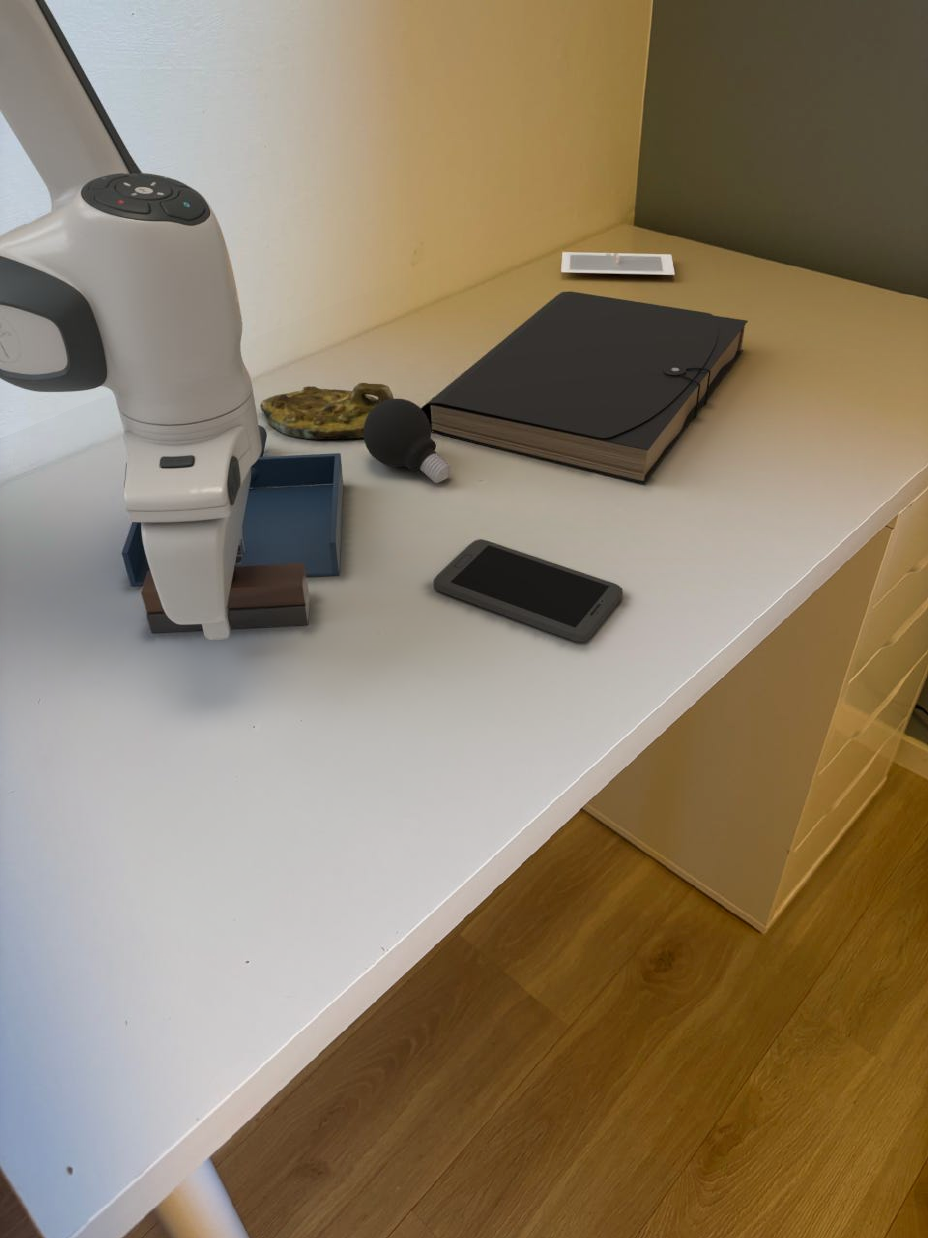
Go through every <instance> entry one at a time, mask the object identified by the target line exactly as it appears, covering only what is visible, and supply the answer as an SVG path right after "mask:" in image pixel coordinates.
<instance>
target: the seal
mask: <svg viewBox="0 0 928 1238" xmlns="http://www.w3.org/2000/svg"><path fill="white" fill-rule="evenodd" d="M376 397H377V398H376ZM389 399H394V394H393V392H392V390H391V388H390V387H389V386H388V385H386V384H383V383H368V382H358V383H357V384H356V385H354V386H353V389H352V390H348V389H347V390H346V389H335V388H334V389H330V388H319V387H317V386H310V385H307V386H303V388H302V390H296V391H293V392H288V393H281V394H275V395H272V396H269V397H268V398H265V399H263V400H262V401H261V402H260V405H259V406H260V410H261V412H262V413H263V414H264V415H265V417H266V418H267V421H268V424H269V425H270V426H271V427H272V428H273V429H276V430H277V431H278V432H280V433H283V434H285V435H286V436H287V435H288V436H290V437H294V438H299V439H308V440H322V439H323V440H326V439H329V440H330V439H331V440H332V439H333V440H334V439H337V440H345V439H360V438H364V435H363V430H364V424H365V420H366V418H367V416H368V414H369V413H370V412H371V410H372V409H373V408H374V407H375V406H376V405H378V404H379V403H381V402H383V401H386V400H389Z"/></svg>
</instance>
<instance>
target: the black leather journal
mask: <svg viewBox="0 0 928 1238" xmlns="http://www.w3.org/2000/svg"><path fill="white" fill-rule="evenodd" d="M748 322H749V321H748V320H746V319H740V318H733V317H726V316H720V315H715V314H714V315H713V314H712V313H710V312H704V311H700V310H699V311H698V310H693V309H686V308H679V307H673V306H667V305H660V304H654V303H648V302H641V301H635V300H629V299H624V298H623V299H621V298H616V297H610V296H603V295H597V294H591V293H584V292H578V291H570V290H569V291H561V292H559V293H558V294H557V295H555V296H554V297H553V298H552V299H550V300H549V301H548V302H547V303H545V304H544V305H543V306H542V307H541V308H540V309H538V310H537V311H536V312H534V314H532V315H531V316H530V317H529V318H528V319H527V320H525V321H524V322H523V323H522V324H520V325H519V326H518V327H516V329H514V330H513V331H512V332H511V333H510V334H508V335H506V337H505V338H504V339H502V340H501V341H500V342H498V344H496V345H495V346H494V347H493V348H491V349H490V350H489V351H488V352H486V354H484V355H483V356H482V357H480V358H479V359H478V360H477V361H475V363H473V364H472V365H471V366H470V367H469V368H467V369H466V370H465V371H464V372H463V373H461V374H460V375H459V376H457V378H455V379H454V380H453V381H452V382H450V383H449V384H448V385H447V386H445V387H444V388H443V389H442V390H441V391H440V392H438V393H437V394H436V395H435V396H434V397H433V398H431V399H430V400H429V401H427V402H426V403H425V404H424V405H423V406H422V407H420V408H421V409H422V410H423V411H424V413H425V414H426V416H427V418H428V420H429V423H430V427H431V432H432V433H434V434H436V435H442V436H445V437H449V438H453V439H458V440H461V441H464V442H469V443H474V444H479V445H482V446H486V447H491V448H495V449H499V450H502V451H507V452H511V453H515V454H520V455H524V456H528V457H532V458H536V459H541V460H544V461H549V462H554V463H558V464H562V465H566V466H569V467H573V468H579V469H583V470H587V471H591V472H595V473H599V474H604V475H607V476H612V477H616V478H620V479H624V480H628V481H634V482H636V483H641V484H646V483H647V482H648V480H649V478H650V477H651V476H652V475H653V473H654V472H655V471H656V469H657V468H658V466H659V465H660V464H661V462H662V461H663V460H664V458H665V457H666V456H667V454H668V453H669V452H670V450H672V447H673V446H674V445H675V443H676V442H677V441H678V439H679V438H680V437H681V435H682V434H683V432H684V431H685V430H686V429H687V427H688V426H689V424H691V422H692V421H693V420H694V419H697V415H698V412H699V411H700V410H701V409H702V407H703V406H704V405H707V402H708V399H709V398H710V396H711V395H712V394H713V392H714V391H715V389H716V388H717V387H718V385H719V384H720V382H721V381H722V380H723V379H724V377H725V376H726V375H727V373H728V372H729V370H730V369H731V368H732V367H733V365H734V364H735V362H737V360H738V359H739V357H740V355H742V353H743V352H744V349H743V341H744V335H745V328H746V327H745V326H746V324H748Z"/></svg>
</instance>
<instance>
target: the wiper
mask: <svg viewBox="0 0 928 1238" xmlns="http://www.w3.org/2000/svg"><path fill="white" fill-rule="evenodd" d="M309 590H310V589H309V584H308V577H306V571H305V564H304V563H295V564H275V565H254V566H236V565H235V566H234V572H233V577H232V582H231V588H230V593H229V598H228V604H227V608H229V613H230V619H231V630H234V629H235V630H236V629H238V630H239V629H254V628H255V629H256V628H273V627H275V628H276V627H289V626H291V627H293V626H307V625H309V614H310V603H311V596H310V591H309ZM140 593H141V597H142V601H143V605H144V609H145V612H146V619H147V624H148V626H149V630H150V633H151V634H159V633H178V632H179V633H181V632H197V631H199V632H200V631H203V627H202V624H187V625H180V624H176V623H174V622H173V621H172V620H171V619H169V618H168V616H167V615H166V613H165V611H164V609H163V606H162V604H161V601H160V598H159V595H158V592H157V589H156V586H155V583H154V580H153V577H152V574H151V571H148V572H147V575H146V578H145V582H144V585H142V588H141V592H140Z"/></svg>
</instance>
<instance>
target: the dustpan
mask: <svg viewBox="0 0 928 1238" xmlns="http://www.w3.org/2000/svg"><path fill="white" fill-rule="evenodd" d="M258 425H259V431H260V437H261V444H262V451H261V454H260V456H259V458H258V460H257V461H256V462H255V463H254V464H253V465H252V466H251V481H250V486H249V492H248V497H247V502H246V508H245V513H244V518H243V524H242V537H243V542H244V548H245V551H244V556H243V560H242V562H241V563H240V564H235V565H236V566H254V565H275V564H295V563H304V564H305V571H306V578H309V577H310V578H312V577H330V576H331V577H332V576H340V572H341V571H340V569H341V551H342V550H341V548H342V547H341V546H342V524H343V507H344V506H343V503H344V475H343V466H342V455H341V454H342V453H341V452H333V453H332V452H331V453H313V454H311V453H310V454H289V455H270V456H269V455H268V456H265V450H266V443H267V438H268V433H267V431H266V429H265V428H264V426H262V425H260V424H258ZM141 524H142V522H131V524H130V527H129V530H128V533H127V536H126V539H125V542H124V545H123V548H122V551H121V556H122V559H123V560H122V561H123V563H124V566H125V567H124V568H125V570H126V574H127V577H128V581H129V585H130V586H131V587H140V586H143V585H144V582H145V578H146V575H147V572H148V571H150V568H149V564H148V561H147V558H146V554H145V550H144V545H143V540H142V531H141Z"/></svg>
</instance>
